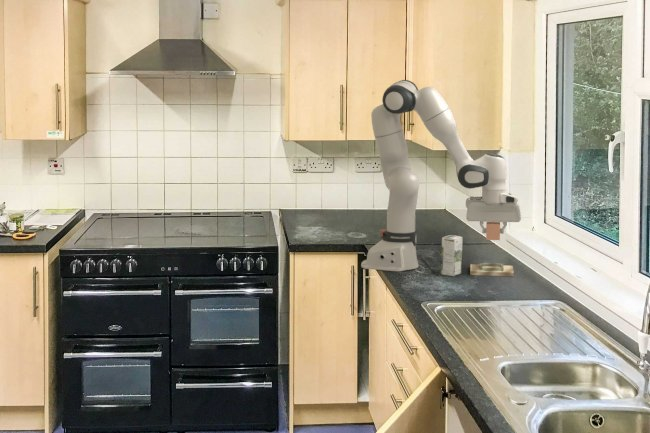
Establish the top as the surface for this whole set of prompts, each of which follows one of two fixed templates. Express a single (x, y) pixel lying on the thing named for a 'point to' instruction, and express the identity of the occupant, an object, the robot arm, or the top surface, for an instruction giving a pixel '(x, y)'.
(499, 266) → the build board
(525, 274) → the top surface
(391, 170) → the robot arm
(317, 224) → the top surface
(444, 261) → the syrup box
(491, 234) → the block
